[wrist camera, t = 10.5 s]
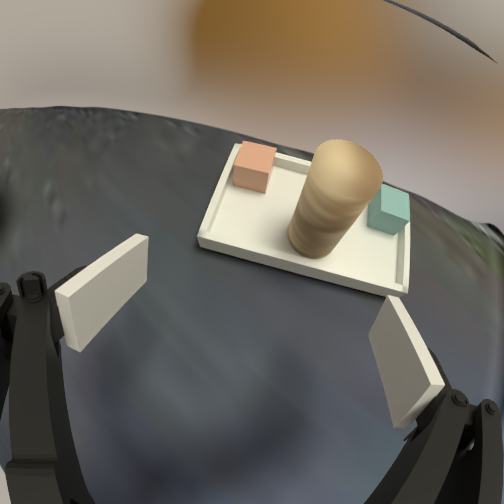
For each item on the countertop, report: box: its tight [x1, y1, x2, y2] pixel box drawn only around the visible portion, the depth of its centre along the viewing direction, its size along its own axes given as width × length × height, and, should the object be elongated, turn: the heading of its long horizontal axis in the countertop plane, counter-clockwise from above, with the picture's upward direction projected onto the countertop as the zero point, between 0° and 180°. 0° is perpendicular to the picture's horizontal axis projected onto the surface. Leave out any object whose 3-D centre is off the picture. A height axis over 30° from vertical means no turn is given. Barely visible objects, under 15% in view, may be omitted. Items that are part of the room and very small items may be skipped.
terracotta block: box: [233, 141, 277, 194], centre depth 28 cm, size 4×4×4 cm
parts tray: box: [197, 143, 410, 297], centre depth 28 cm, size 21×12×2 cm, turn 75°
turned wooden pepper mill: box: [288, 139, 383, 259], centre depth 22 cm, size 5×5×11 cm
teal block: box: [367, 184, 410, 235], centre depth 27 cm, size 4×4×4 cm
